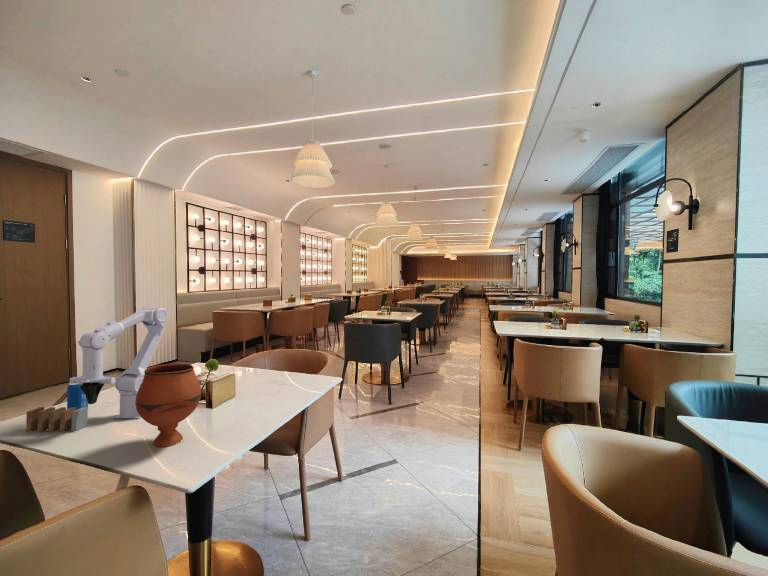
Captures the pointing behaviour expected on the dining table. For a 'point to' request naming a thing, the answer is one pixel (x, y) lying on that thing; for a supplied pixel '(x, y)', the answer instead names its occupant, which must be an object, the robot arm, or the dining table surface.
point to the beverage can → (76, 396)
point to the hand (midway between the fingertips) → (92, 403)
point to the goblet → (168, 399)
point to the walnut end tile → (32, 419)
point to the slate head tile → (79, 419)
